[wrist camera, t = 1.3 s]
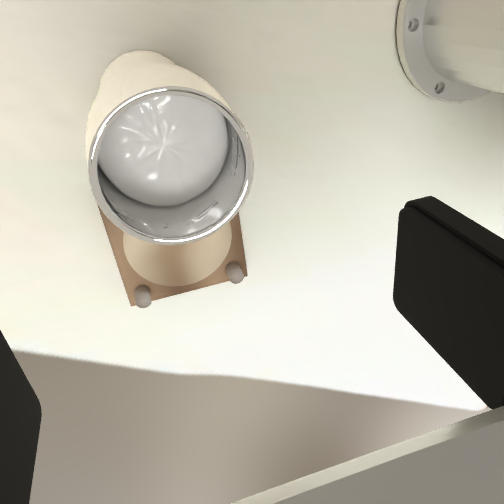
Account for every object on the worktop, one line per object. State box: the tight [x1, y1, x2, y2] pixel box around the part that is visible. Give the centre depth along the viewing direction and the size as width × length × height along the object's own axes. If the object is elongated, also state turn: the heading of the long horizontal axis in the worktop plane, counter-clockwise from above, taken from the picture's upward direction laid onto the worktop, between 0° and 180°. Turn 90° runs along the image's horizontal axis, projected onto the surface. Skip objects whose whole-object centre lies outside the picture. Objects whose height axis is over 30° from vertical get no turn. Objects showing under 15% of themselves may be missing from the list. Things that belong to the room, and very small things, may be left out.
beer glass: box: [85, 50, 254, 245], centre depth 24 cm, size 7×7×15 cm
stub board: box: [98, 205, 248, 308], centre depth 34 cm, size 10×10×3 cm
